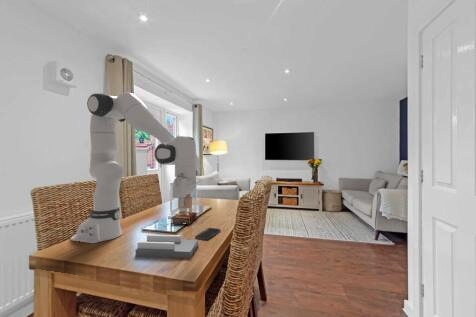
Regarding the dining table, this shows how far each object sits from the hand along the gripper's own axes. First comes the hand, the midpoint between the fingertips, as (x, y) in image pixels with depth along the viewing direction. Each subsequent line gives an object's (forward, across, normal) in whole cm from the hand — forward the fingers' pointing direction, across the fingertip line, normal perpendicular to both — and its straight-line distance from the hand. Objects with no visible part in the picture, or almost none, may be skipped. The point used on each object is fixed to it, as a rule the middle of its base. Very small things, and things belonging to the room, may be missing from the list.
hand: (184, 204), depth 91 cm
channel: (+20, 0, +7) cm, 22 cm away
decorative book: (+20, +42, +14) cm, 48 cm away
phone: (+20, +20, -6) cm, 30 cm away
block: (+1, 0, 0) cm, 1 cm away
